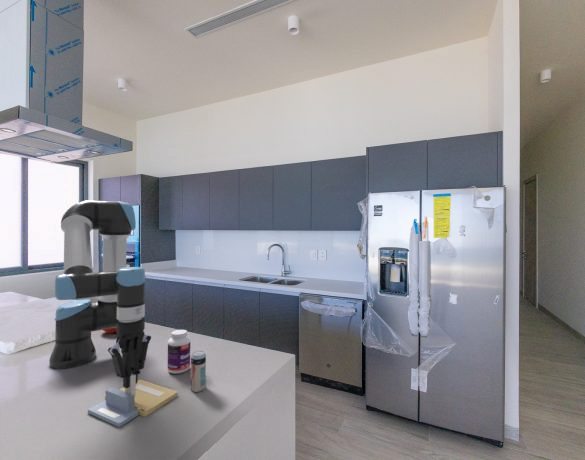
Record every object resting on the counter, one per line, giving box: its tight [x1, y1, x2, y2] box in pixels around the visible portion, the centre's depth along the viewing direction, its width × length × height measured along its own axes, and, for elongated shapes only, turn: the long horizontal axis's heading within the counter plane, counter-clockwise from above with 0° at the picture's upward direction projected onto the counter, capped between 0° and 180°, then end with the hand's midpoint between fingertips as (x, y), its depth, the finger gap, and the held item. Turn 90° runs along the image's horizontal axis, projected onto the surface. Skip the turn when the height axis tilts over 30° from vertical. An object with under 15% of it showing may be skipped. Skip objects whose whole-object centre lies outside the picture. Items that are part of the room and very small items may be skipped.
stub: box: [87, 387, 139, 428], centre depth 86 cm, size 14×6×5 cm, turn 65°
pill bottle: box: [167, 329, 191, 375], centre depth 113 cm, size 8×8×14 cm
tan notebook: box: [104, 379, 179, 418], centre depth 94 cm, size 18×12×1 cm, turn 65°
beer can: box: [190, 350, 207, 393], centre depth 100 cm, size 5×5×12 cm
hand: (130, 396), depth 91 cm, fingers closed
